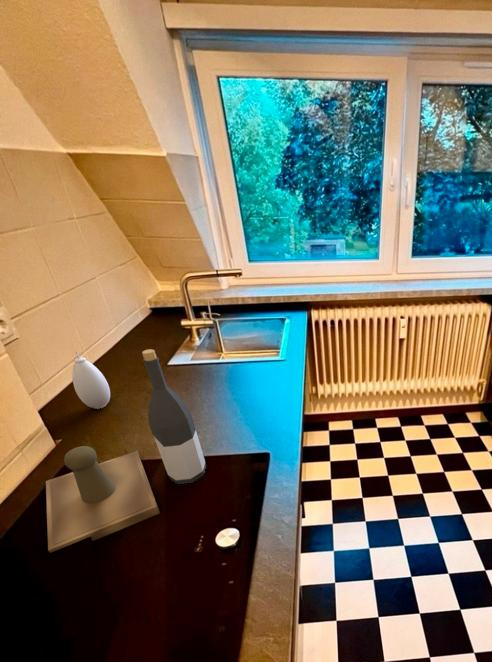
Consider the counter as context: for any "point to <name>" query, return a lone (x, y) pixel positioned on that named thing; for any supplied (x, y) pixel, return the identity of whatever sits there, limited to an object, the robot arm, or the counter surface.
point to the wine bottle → (173, 427)
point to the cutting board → (98, 504)
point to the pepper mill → (89, 475)
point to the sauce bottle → (90, 384)
